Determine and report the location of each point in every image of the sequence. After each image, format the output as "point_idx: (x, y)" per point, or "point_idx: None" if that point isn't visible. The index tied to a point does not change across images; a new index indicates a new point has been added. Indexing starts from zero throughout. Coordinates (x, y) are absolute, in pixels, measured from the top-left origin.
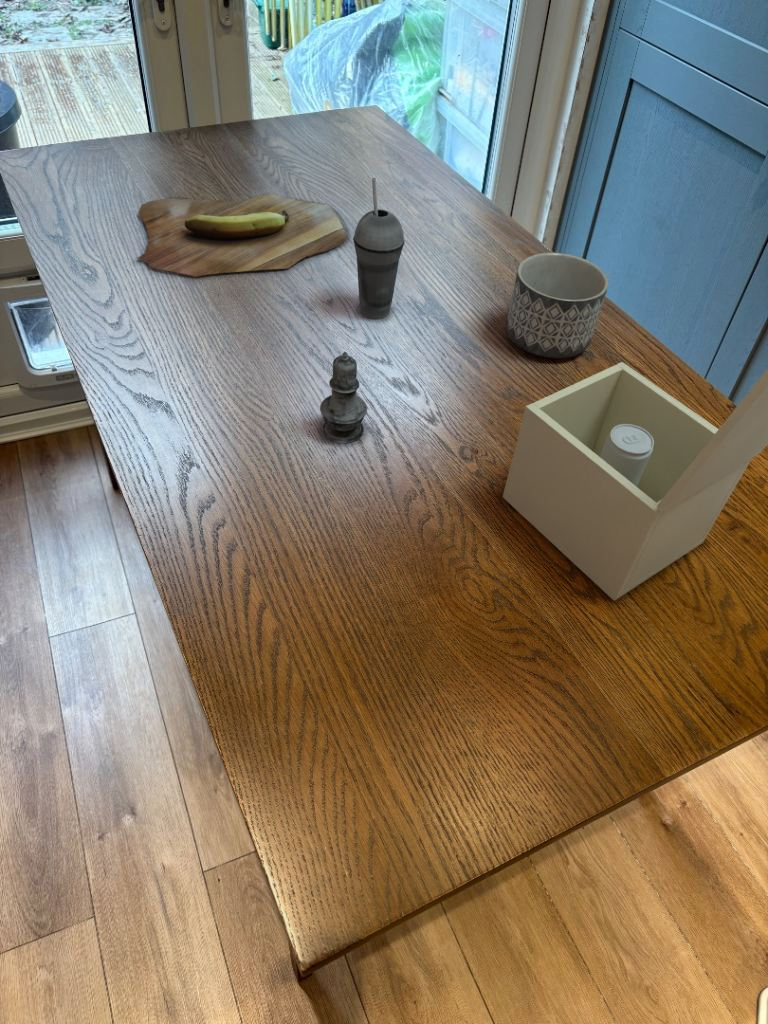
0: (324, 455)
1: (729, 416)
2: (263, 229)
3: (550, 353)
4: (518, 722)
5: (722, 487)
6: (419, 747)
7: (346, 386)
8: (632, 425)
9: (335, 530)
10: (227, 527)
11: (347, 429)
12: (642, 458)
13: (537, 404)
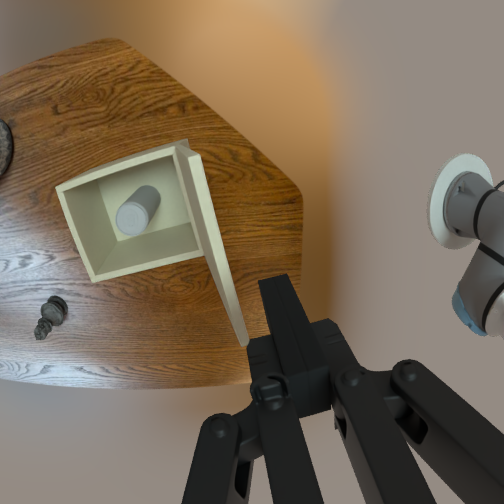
0: (75, 320)
1: (224, 306)
2: None
3: (8, 159)
4: (254, 299)
5: None
6: (248, 336)
7: (49, 328)
8: (117, 212)
9: (126, 332)
10: (119, 367)
11: (63, 313)
12: (148, 219)
13: (91, 274)
